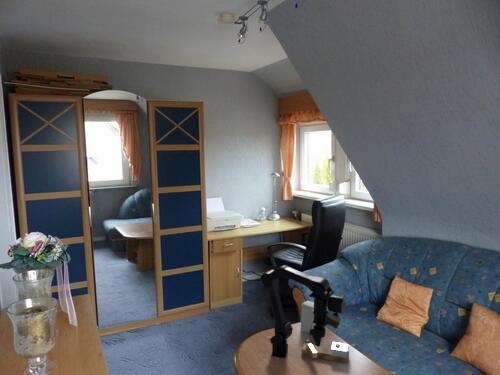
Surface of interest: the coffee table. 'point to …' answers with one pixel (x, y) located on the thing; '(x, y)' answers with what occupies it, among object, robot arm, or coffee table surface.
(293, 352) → the coffee table surface
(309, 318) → the skincare box
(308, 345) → the lever
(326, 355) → the body
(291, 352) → the coffee table surface
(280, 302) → the robot arm
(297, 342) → the coffee table surface
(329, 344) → the felt pad
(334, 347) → the grey squarish block
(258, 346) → the coffee table surface
